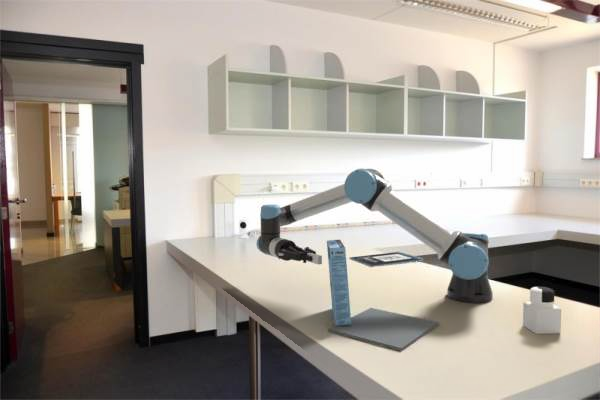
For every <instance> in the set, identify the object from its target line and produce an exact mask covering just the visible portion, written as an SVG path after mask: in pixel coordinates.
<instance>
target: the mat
mask: <svg viewBox="0 0 600 400" xmlns="http://www.w3.org/2000/svg"><path fill="white" fill-rule="evenodd" d="M438 326H439V321H434V320H429V319H425V318H420V317H416V316H411V315H406V314H401V313H397V312H391V311H387V310H382V309H377V308H374V307H370V308H368V309H365V310H363V311H361V312H359V313H357V314H355V315H353V316H351V325H339V326H335V325H332V326H331V327H329V328H327V332H329V333H333V334H336V335H340V336H343V337H347V338H352V339H354V340H358V341H362V342H366V343H369V344H373V345H377V346H380V347H384V348H389V349H391V350H395V351H400V352H403V351H404V350H405V349H407V348H408V347H410V346H411V345H413V344H414V343H416V341H417V342H418V340H420V339H421V338H423V337H424V336H425V335H427V334H428V333H429V332H431V331H432V330H433V329H435V328H436V327H438Z"/></svg>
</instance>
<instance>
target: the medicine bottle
mask: <svg viewBox="0 0 600 400" xmlns="http://www.w3.org/2000/svg"><path fill="white" fill-rule="evenodd" d="M529 292H530V293H529V298H530V299H529V301H523V303H522V304H523V307H522V308H523V310H522V325H523V327H525V328H527V329H528V330H530V331H531V332H532V333H534V334H536V335H548V334H549V335H550V334H551V335H552V334H555V335H556V334H561V332H562V329H561V328H562V308H560V307H559V306H557V305H555V290H554V289H552V288H549V287H547V286H533V287H531V288H530V289H529Z"/></svg>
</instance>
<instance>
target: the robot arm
mask: <svg viewBox="0 0 600 400" xmlns="http://www.w3.org/2000/svg"><path fill="white" fill-rule="evenodd" d="M352 202H353V203H355V204H359V205H362V206H363V207H364V208H366V209H367V210H369V211H370V212H379V213H380V214H382V215H384V216H385V217H386V218H387V219H389V220H390V221H392V222H393V223H395V224H396V225H398V226H399V227H401V229H403V230H404V231H406V232H407V233H409V234H410V235H411V236H413V237H415V238H416V239H417V240H419V241H420V242H421V243H423V244H425V246H428V247H429V248H430V249H431V250H433V251H434V252H435V253H436V254H437V255H436V256H437V259H438V260H439V261H441V262H442V263H443V264H444V265H446V266H448V267H449V270H450V271H451V272H452V276H451V278H450V281H449V284H448V286H447V291H446V292H447V294H446V295H447V296H446V297H448V298H450V299H451V300H455V301H459V302H463V303H473V304H477V303H481V304H482V303H488V302H491V301H493V296H494V295H493V290H492V287H491V284H490V281H489V277H488V271H489V270H488V268H489V264H490V260H489V242H490V241H489V237H488V235H487V234H486V233H477V232H475V233H471V232H469V233H468V232H462V231H460V230H455V231H452V230H451V229H449V228H448V227H447V226H445V225H444V224H442V223H441V222H439V221H438V220H436V219H434V218H433V217H432V216H430V215H429V214H427V213H426V212H424V211H423V210H422V209H420V208H418V207H417V206H416V205H414V204H413V203H411V202H410V201H408V200H407V199H405V198H404V197H402V196H401V195H400V194H398V193H397V192H395V191H394V190H393V187H392V184H391V183H390V182H388V181H387V180H386V179H385V177H384V176H383V175H382V173H381V172H379V170H376V169H374V168H357V169H355V170H353V171H351V172H349V174H348V175H347V177H346V178H345V181H344V183H342V184H340V185H338V186H335V187H332V188H330V189H327V190H324V191H322V192H319V193H316V194H314V195H311V196H308V197H306V198H303V199H300V200H298V201H296V202H292V203H290V204H287V205H284V206H280V205H279V204H264V205H263V204H262V205H261V206H260V214H259V215H260V235H259V236H258V238H257V240H256V242H255V243H256V248H257V249H258V251H260V252H261V253H262V254H264V255H267V256H271V257H275V258H277V259H278V260H283V261H288V262H289V261H296V262H297V261H298V262H301V261H302V263H303V264H306V263H307V262H309V263H312V264H314V265H322V264H323V256H322V255H319V254H317V251H316V250H314V249H312V248H310V247H309V246H305V247H304V248H303V247H300V246H298V245H297V244H296V242H294V241H293V240H290V239H286V238H284V237H281V227H284V226H288V225H291V224H293V223H296V222H298V221H302V220H304V219H307V218H309V217H313V216H315V215H319V214H320V213H324V212H327V211H329V210H332V209H335V208H338V207H341V206H343V205H347V204H349V203H352Z"/></svg>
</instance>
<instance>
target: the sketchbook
mask: <svg viewBox="0 0 600 400" xmlns="http://www.w3.org/2000/svg"><path fill="white" fill-rule="evenodd" d="M349 259H350V260H352V261H354V260H355V261H354V262H358V263H360V264H363V265H366V266H369V267H370V266H371V268H374V267H375V266H377V267H383V266H384V265H385V266H392V265H393V264H394V265H401V264H402V263H403V264H409V263H410V262H412V263H420V262H424V258H422V257H418V256H415V255H412V254H409V253H405V252H401V251H395V252H385V253H378V254H377V253H376V254H368V255H367V254H366V255H359V256H352V257H350V256H349ZM416 261H417V262H416ZM410 264H411V263H410ZM375 268H376V267H375Z"/></svg>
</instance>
